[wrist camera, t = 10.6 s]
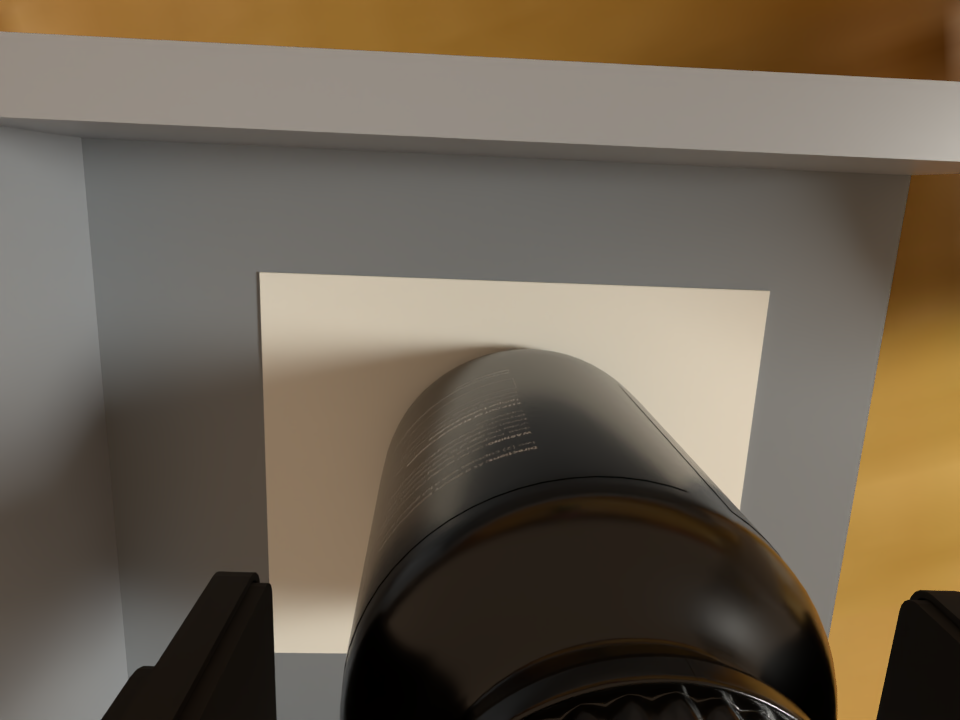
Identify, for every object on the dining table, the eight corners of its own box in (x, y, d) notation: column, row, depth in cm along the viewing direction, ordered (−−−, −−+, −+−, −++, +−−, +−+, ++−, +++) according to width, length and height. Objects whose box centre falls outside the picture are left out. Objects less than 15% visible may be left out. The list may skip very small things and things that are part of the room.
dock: (870, 128, 18) (1125, 90, 11) (772, 725, 22) (915, 963, 15) (68, 89, 17) (-189, 21, 10) (124, 722, 21) (-30, 973, 14)
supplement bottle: (395, 606, 18) (301, 1341, 7) (375, 350, 17) (199, 726, 5) (657, 589, 18) (1013, 1274, 7) (661, 335, 17) (1138, 661, 5)
